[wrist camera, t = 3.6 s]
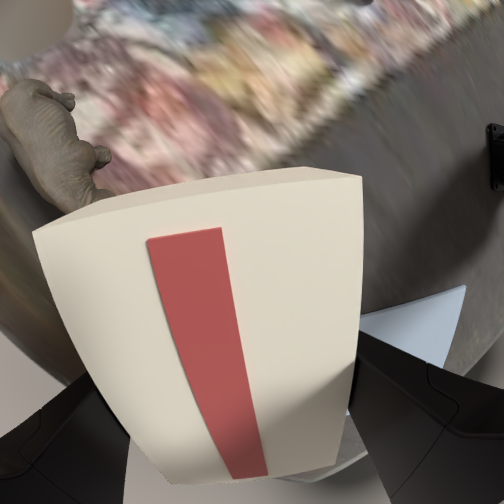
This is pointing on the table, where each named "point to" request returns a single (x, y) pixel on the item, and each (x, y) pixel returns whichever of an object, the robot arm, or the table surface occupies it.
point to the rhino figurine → (51, 145)
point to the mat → (418, 325)
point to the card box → (218, 317)
